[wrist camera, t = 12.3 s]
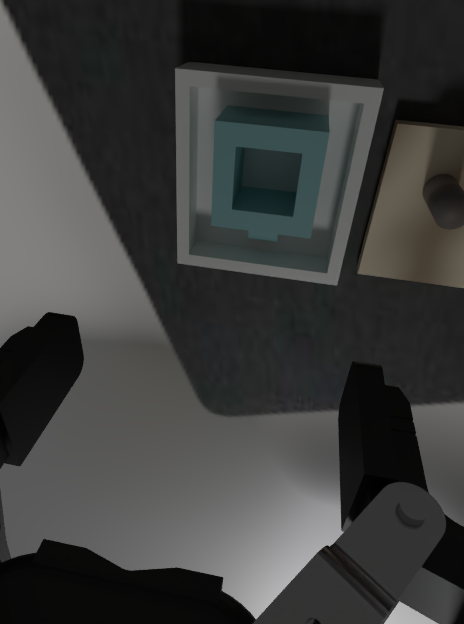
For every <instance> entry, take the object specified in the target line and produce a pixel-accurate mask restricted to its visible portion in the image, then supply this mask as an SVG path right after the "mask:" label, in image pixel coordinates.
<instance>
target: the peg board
mask: <svg viewBox="0 0 464 624" xmlns="http://www.w3.org/2000/svg"><path fill="white" fill-rule="evenodd" d="M357 272H358V274H365V275H372V276H379V277H386V278H394V279H401V280H408V281H416V282H423V283H430V284H438V285H445V286H452V287H460V288H464V127H462V126H452V125H443V124H433V123H423V122H413V121H404V120H395V123H394V127H393V130H392V134H391V138H390V142H389V146H388V150H387V153H386V157H385V161H384V165H383V169H382V172H381V176H380V180H379V184H378V188H377V192H376V195H375V199H374V203H373V207H372V211H371V214H370V218H369V222H368V226H367V230H366V233H365V237H364V241H363V245H362V249H361V253H360V256H359V260H358V264H357Z"/></svg>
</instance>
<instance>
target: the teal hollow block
mask: <svg viewBox="0 0 464 624" xmlns="http://www.w3.org/2000/svg"><path fill="white" fill-rule="evenodd" d="M329 133H330V129H329V115H320V114H310V113H300V112H290V111H280V110H270V109H260V108H250V107H240V106H229V105H228V106H227V107H226V108H225V109H224V110H223V111H222V113H221V114H220V115H219V116H218V117H217V118H216V119H215V123H214V153H213V182H212V212H211V226H216V227H224V228H232V229H240V230H248V238H250V239H258V240H266V241H274V242H277V240H278V234H279V235H287V236H295V237H302V238H310V239H311V233H312V228H313V222H314V217H315V211H316V205H317V200H318V194H319V189H320V183H321V178H322V172H323V167H324V161H325V156H326V150H327V144H328V139H329ZM245 148H254V149H264V150H273V151H282V152H291V153H300V154H302V159H301V166H300V172H299V179H298V186H297V192H289V191H281V190H272V189H264V188H255V187H247V186H242V177H243V163H244V150H245Z"/></svg>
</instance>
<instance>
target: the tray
mask: <svg viewBox="0 0 464 624" xmlns="http://www.w3.org/2000/svg"><path fill="white" fill-rule="evenodd" d="M175 90H176V174H177V258H178V263H180V264H187V265H194V266H201V267H208V268H216V269H223V270H230V271H237V272H244V273H251V274H258V275H266V276H273V277H280V278H287V279H294V280H301V281H308V282H316V283H323V284H330V285H337V283H338V279H339V275H340V270H341V266H342V262H343V258H344V254H345V249H346V245H347V241H348V237H349V233H350V228H351V224H352V220H353V216H354V212H355V208H356V203H357V199H358V195H359V191H360V187H361V182H362V178H363V174H364V170H365V166H366V161H367V157H368V153H369V149H370V145H371V140H372V136H373V132H374V128H375V124H376V119H377V115H378V111H379V107H380V103H381V99H382V94H383V90H384V88H383V86H382V85H381V83H380V82H379V80H378V79H368V78H358V77H347V76H336V75H326V74H315V73H304V72H294V71H283V70H272V69H262V68H251V67H241V66H230V65H219V64H209V63H198V62H187V63H185V64H183V65H181V66H179V67H177V68H175ZM228 105H229V106H240V107H250V108H260V109H270V110H280V111H290V112H300V113H310V114H320V115H329V129H330V133H329V139H328V144H327V150H326V156H325V161H324V167H323V172H322V178H321V183H320V189H319V194H318V200H317V205H316V211H315V217H314V222H313V228H312V233H311V239H310V238H302V237H295V236H287V235H279V234H278V240H277V242H274V241H266V240H258V239H250V238H248V230H240V229H232V228H224V227H216V226H211V212H212V182H213V153H214V123H215V119H216V118H217V117H218V116H219V115H220V114H221V113H222V111H223V110H224V109H225V108H226V107H227V106H228ZM301 159H302V154H300V153H291V152H282V151H273V150H264V149H254V148H245V150H244V163H243V177H242V186H247V187H255V188H264V189H272V190H281V191H289V192H297V186H298V179H299V172H300V166H301Z"/></svg>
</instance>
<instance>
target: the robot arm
mask: <svg viewBox="0 0 464 624" xmlns="http://www.w3.org/2000/svg"><path fill="white" fill-rule="evenodd" d="M83 361H84V356H83V349H82V344H81V339H80V333H79V327H78V322H77V319H76V318H75V317H74V316H70V315H64V314H58V313H51V312H48V313H46V314H45V315H44V316H43V317H42V318H41V319H40V321H39V322H38V323H37V324H36V325H35V326H34V327H29V326H28V327H26V328H24V329H23V330H21V331H19V332H18V333H16V334H14V335H12V336H11V337H10V338H9V339H8V340H7V341H6V342H5V343H4V345H3V346H2V347H1V348H0V468H1V467H2V465H3V464H4V463H6V464H11V465H16V466H21V464H22V463H23V461H24V460H25V458H26V457H27V455H28V454H29V452H30V451H31V449H32V447H33V446H34V444H35V443H36V441H37V440H38V438H39V437H40V435H41V434H42V432H43V431H44V429H45V428H46V426H47V424H48V423H49V421H50V420H51V418H52V417H53V415H54V414H55V412H56V411H57V409H58V407H59V406H60V404H61V403H62V401H63V400H64V398H65V397H66V395H67V394H68V392H69V391H70V389H71V387H72V386H73V384H74V383H75V381H76V380H77V378H78V376H79V375H80V373H81V370H82V367H83ZM338 424H339V425H338V426H339V458H340V459H339V461H340V495H341V528H342V531H344V533H343V534H342V535H341V536H340V537H339V538H338V540H337V541H336V542H335V543H334V544H333V545H331V546H330V547H329V546H325V547H323V548H322V549H321V550H320V551H319V552H318V553H317V554H316V555H315V556H314V557H313V558H312V559H311V560H310V561H309V563H308V564H307V565H306V566H305V567H304V568H303V569H302V570H301V571H300V572H299V573H298V575H297V576H296V577H295V578H294V579H293V580H292V581H291V582H290V583H289V584H288V585H287V587H286V588H285V589H284V590H283V591H282V592H281V593H280V594H279V595H278V596H277V598H276V599H275V600H274V601H273V602H272V603H271V604H270V605H269V606H268V607H267V608H266V610H265V611H264V612H263V613H262V614H261V615H260V616H259V617H258V618H257V619H255V618H254V617H253V615H252V614H251V613H250V612H249V611H248V610H247V609H246V608H245V607H244V606H243V605H242V604H241V603H239V602H238V601H237V600H235V599H234V598H233V597H231V596H230V595H228V594H226V593H224V592H223V591H222V583H223V577H219V576H214V575H209V574H205V573H200V572H195V571H190V570H186V569H181V568H166V569H150V570H135V571H128V570H125V569H122V568H121V567H119V566H117V565H115V564H113V563H112V562H110V561H108V560H106V559H105V558H103V557H101V556H99V555H98V554H96V553H94V552H92V551H90V550H88V549H87V548H83V547H79V546H74V545H69V544H64V543H60V542H55V541H51V540H46V539H43V541H42V543H41V545H40V547H39V549H38V551H37V553H32V554H26V555H22V556H18V557H15V558H12V559H11V556H10V553H9V549H8V545H7V541H6V535H5V527H4V517H3V509H2V500H1V492H0V624H384V622H385V621H386V620H387V618H388V617H389V615H390V614H391V612H392V611H393V610H394V608H395V607H396V605H397V604H398V602H399V601H400V602H402V603H404V604H406V605H407V606H409V607H411V608H413V609H414V610H416V611H418V612H419V613H421V614H423V615H425V616H426V617H428V618H430V619H432V620H433V621H435V622H437V623H439V624H464V527H463V526H461V525H459V524H458V523H456V522H454V521H453V520H451V519H450V518H449V517H447V516H446V515H445V514H444V512H443V510H442V508H441V507H440V505H439V504H438V502H437V501H436V500H435V499H434V498H433V497H432V496H431V495H430V494H429V492H428V489H427V485H426V480H425V475H424V470H423V465H422V461H421V456H420V451H419V446H418V441H417V437H416V436H415V435H416V431H415V427H414V423H413V417H412V412H411V407H410V403H409V401H408V400H407V398H406V397H405V396H404V394H403V393H402V391H401V390H400V388H399V387H393V386H387V385H385V382H384V376H383V370H382V366H381V365H376V364H369V363H363V362H357V361H353V362H352V364H351V367H350V371H349V374H348V378H347V381H346V384H345V388H344V391H343V394H342V398H341V402H340V407H339V417H338Z"/></svg>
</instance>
